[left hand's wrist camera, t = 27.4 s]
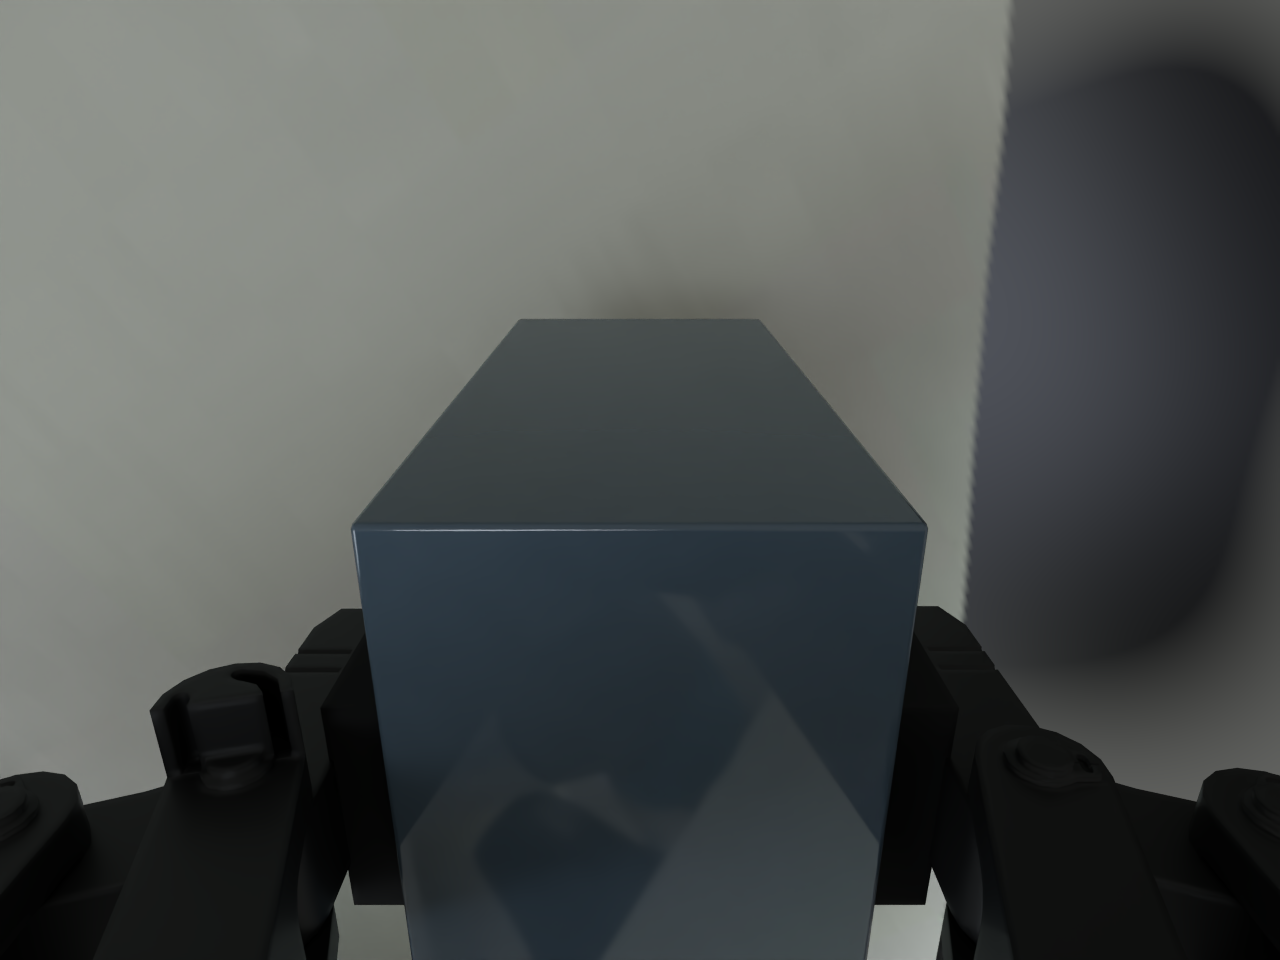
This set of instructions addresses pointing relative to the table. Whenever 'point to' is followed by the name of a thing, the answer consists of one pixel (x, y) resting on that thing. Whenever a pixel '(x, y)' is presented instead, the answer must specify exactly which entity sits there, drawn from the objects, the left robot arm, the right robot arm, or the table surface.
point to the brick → (639, 652)
